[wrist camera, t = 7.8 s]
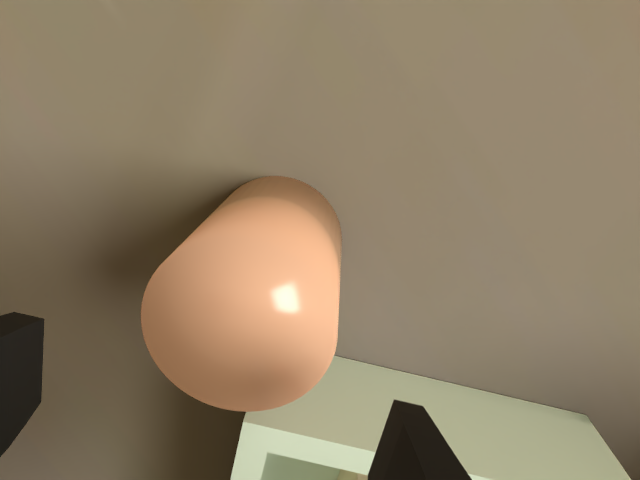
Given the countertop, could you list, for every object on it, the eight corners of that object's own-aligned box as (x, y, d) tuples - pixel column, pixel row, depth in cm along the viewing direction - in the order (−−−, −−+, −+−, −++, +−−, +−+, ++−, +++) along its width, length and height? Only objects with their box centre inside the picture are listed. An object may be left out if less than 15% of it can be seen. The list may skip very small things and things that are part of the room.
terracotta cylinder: (355, 193, 18) (360, 263, 11) (325, 309, 19) (312, 429, 13) (225, 162, 18) (152, 213, 11) (206, 280, 19) (131, 387, 13)
